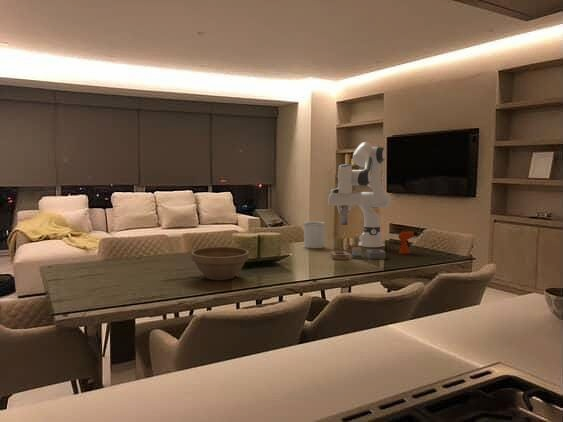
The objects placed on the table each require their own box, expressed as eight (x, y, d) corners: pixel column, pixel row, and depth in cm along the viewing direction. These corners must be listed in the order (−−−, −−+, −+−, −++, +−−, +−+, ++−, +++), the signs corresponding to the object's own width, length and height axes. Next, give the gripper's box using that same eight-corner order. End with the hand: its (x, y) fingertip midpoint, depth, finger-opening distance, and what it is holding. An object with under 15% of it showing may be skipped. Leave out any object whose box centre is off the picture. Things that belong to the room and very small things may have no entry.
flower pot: (254, 281, 221) (254, 254, 220) (194, 285, 213) (194, 257, 212) (242, 269, 248) (242, 245, 247) (189, 272, 240) (188, 247, 239)
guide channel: (347, 254, 296) (347, 252, 296) (359, 254, 296) (359, 252, 296) (351, 258, 282) (351, 256, 281) (364, 258, 282) (364, 256, 282)
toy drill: (427, 250, 303) (425, 228, 301) (401, 255, 299) (399, 232, 297) (423, 249, 307) (421, 227, 306) (397, 254, 304) (395, 231, 302)
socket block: (366, 255, 291) (366, 249, 291) (381, 255, 291) (381, 249, 291) (369, 258, 281) (369, 252, 281) (385, 258, 281) (385, 252, 281)
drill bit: (340, 224, 284) (340, 202, 283) (346, 224, 284) (347, 202, 283) (341, 224, 280) (341, 202, 279) (347, 224, 280) (348, 202, 279)
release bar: (352, 256, 288) (352, 247, 287) (360, 256, 288) (360, 247, 288) (353, 257, 284) (353, 248, 283) (361, 257, 284) (361, 248, 284)
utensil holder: (301, 245, 332) (302, 221, 330) (322, 245, 333) (322, 221, 332) (305, 248, 317) (305, 223, 316) (326, 248, 319) (326, 223, 317)
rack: (330, 256, 289) (330, 251, 288) (346, 256, 289) (346, 251, 289) (332, 259, 279) (332, 254, 278) (349, 259, 279) (349, 254, 279)
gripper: (360, 190, 284) (360, 212, 285) (327, 190, 283) (327, 212, 284) (362, 190, 278) (362, 213, 279) (329, 190, 277) (328, 213, 278)
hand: (344, 213), depth 281 cm, fingers closed on drill bit, 4 cm apart
